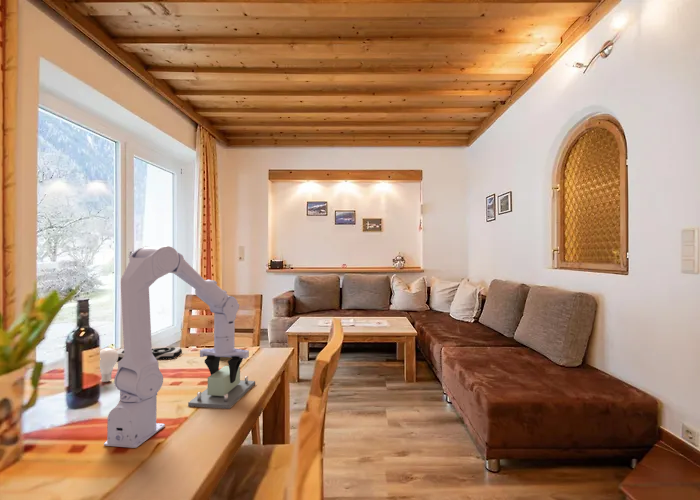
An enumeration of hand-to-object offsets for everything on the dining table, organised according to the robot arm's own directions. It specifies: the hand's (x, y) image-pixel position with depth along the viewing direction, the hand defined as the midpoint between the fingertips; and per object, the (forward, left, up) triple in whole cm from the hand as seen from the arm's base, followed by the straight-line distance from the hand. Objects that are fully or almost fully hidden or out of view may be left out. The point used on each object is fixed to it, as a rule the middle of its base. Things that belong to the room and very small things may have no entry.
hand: (224, 381), depth 99 cm
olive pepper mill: (+32, +17, -4) cm, 36 cm away
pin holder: (0, 0, -4) cm, 4 cm away
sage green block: (0, 0, -2) cm, 2 cm away
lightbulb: (+4, +43, -4) cm, 43 cm away
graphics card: (+29, +49, -5) cm, 57 cm away
